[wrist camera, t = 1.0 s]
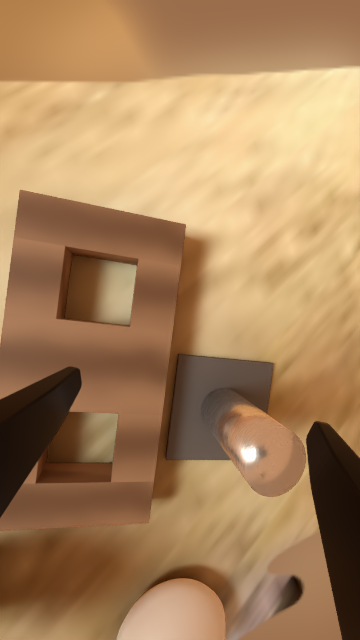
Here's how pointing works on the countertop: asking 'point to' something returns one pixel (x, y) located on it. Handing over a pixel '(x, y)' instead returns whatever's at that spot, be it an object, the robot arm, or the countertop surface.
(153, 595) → the flower in vase
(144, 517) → the hole block
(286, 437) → the steel peg
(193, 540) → the countertop surface
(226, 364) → the rubber mat
